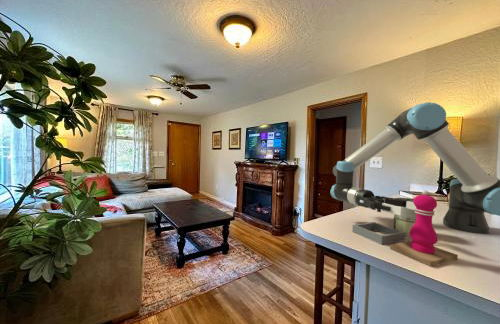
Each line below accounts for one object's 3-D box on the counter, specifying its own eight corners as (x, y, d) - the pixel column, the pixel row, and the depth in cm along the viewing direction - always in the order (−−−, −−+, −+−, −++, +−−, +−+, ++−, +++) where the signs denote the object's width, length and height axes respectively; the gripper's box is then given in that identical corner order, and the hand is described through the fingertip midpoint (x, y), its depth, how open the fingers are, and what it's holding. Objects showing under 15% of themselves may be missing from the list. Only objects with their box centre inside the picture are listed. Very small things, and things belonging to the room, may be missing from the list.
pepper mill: (434, 248, 70) (437, 190, 69) (439, 257, 64) (443, 193, 63) (407, 243, 74) (410, 187, 73) (410, 250, 67) (413, 190, 67)
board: (415, 243, 77) (415, 239, 77) (457, 259, 66) (457, 254, 65) (390, 248, 72) (390, 244, 72) (430, 266, 61) (430, 261, 60)
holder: (374, 228, 92) (374, 222, 92) (404, 240, 80) (405, 232, 80) (352, 231, 87) (352, 224, 87) (381, 244, 75) (381, 236, 75)
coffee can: (387, 227, 94) (389, 197, 94) (411, 228, 93) (413, 198, 93) (402, 236, 84) (404, 202, 84) (429, 237, 83) (431, 203, 83)
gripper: (380, 204, 95) (435, 217, 75) (339, 207, 86) (389, 224, 66) (381, 188, 95) (436, 197, 75) (339, 190, 86) (390, 201, 66)
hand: (414, 210), depth 71 cm, fingers open, 13 cm apart
